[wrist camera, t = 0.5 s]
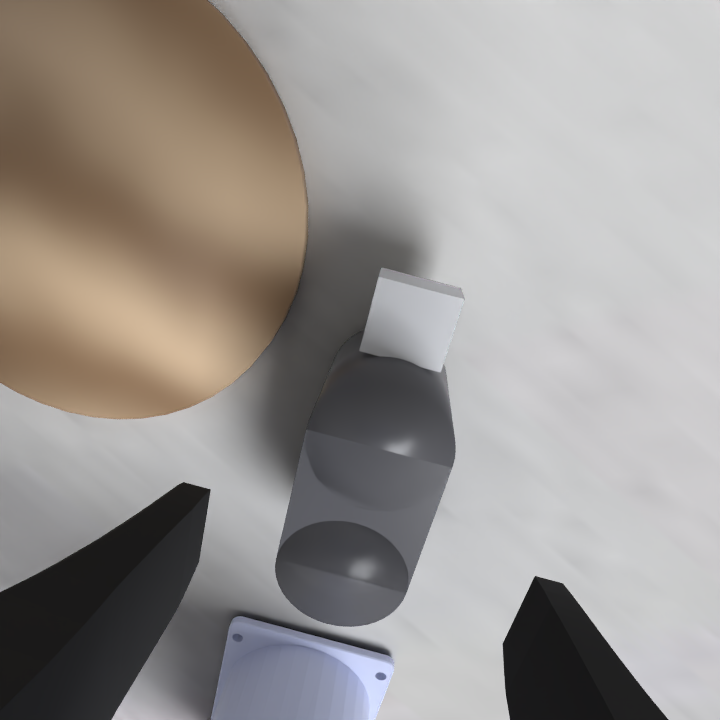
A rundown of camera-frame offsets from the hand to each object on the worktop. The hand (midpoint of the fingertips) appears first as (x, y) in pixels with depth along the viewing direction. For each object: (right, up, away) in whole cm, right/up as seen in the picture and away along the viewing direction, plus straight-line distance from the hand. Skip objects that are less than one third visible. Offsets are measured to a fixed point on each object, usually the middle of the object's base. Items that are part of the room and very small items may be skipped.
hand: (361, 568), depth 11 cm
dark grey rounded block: (+1, +2, +9) cm, 9 cm away
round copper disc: (-10, +10, +7) cm, 16 cm away
